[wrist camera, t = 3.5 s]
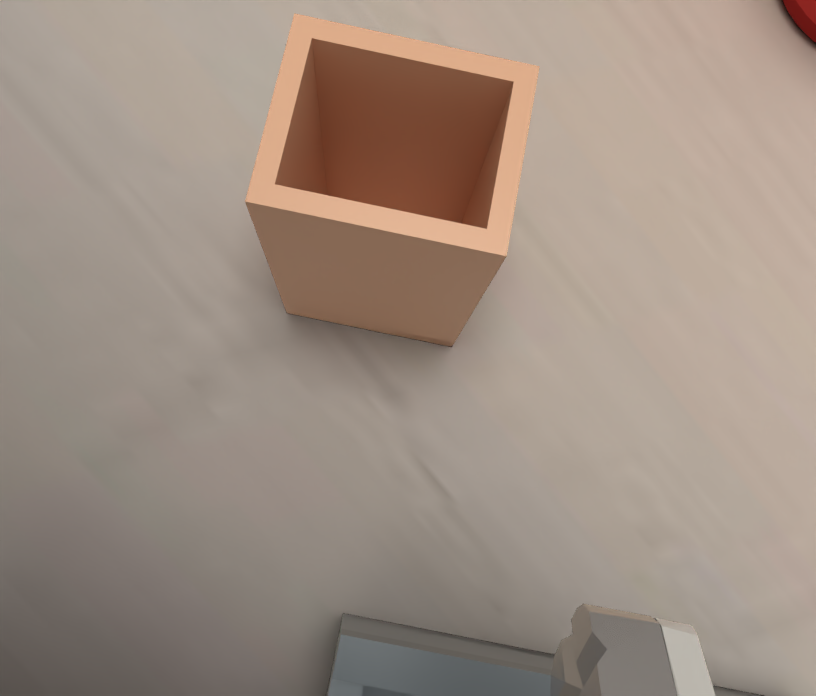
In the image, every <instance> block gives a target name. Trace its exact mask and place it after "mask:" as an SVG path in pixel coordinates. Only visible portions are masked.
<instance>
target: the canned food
mask: <svg viewBox="0 0 816 696" xmlns="http://www.w3.org/2000/svg"><path fill="white" fill-rule="evenodd" d="M783 2H784V5H785V7H786V9H787V11H788V12H789V14H790V15H791V17H792V18H793V20H794V21H795V22H796V24H797V25H798V27H799V28H800V29H801V30H802V31H803V32H804V33H805V34H806V35H807V36H808V37H809V38H810V39H811V40H813V41H814V42H816V0H783Z"/></svg>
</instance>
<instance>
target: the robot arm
mask: <svg viewBox="0 0 816 696" xmlns="http://www.w3.org/2000/svg"><path fill="white" fill-rule="evenodd" d="M571 623H572V632H573V634H572V635H570V636H568V637H566V638H564V639H562V640H561V642H560V644H559V646H558V649H557V651H556V653H555V656H554V661H553V666H552V671H551V685H550V694H551V696H716V695H715V692H714V689H713V685H712V682H711V678H710V675H709V672H708V668H707V665H706V661H705V658H704V655H703V651H702V648H701V645H700V641H699V638H698V634H697V632H696V631H695V629H694V628H693V627H692V625H689V624H684V623H679V622H674V621H669V620H664V619H659V618H652V617H651V616H647V615H641V614H636V613H631V612H625V611H620V610H614V609H609V608H604V607H598V606H593V605H588V604H582V605H581V606H579V607H578V608H577V609H576V611H575V613H574V615H573V617H572V619H571Z"/></svg>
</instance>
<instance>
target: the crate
mask: <svg viewBox="0 0 816 696" xmlns="http://www.w3.org/2000/svg"><path fill="white" fill-rule="evenodd" d="M554 656H555V655H554V654H549V653H544V652H539V651H533V650H528V649H523V648H518V647H513V646H508V645H503V644H498V643H493V642H488V641H482V640H477V639H472V638H467V637H462V636H457V635H452V634H447V633H442V632H437V631H431V630H426V629H421V628H416V627H411V626H406V625H401V624H396V623H391V622H386V621H380V620H375V619H370V618H365V617H360V616H355V615H350V614H345V613H343V616H342V621H341V626H340V631H339V636H338V641H337V646H336V651H335V655H334V660H333V665H332V670H331V675H330V680H329V685H328V690H327V695H326V696H551V694H550V685H551V671H552V666H553V661H554ZM713 689H714V692H715V695H716V696H763V695H758V694H753V693H748V692H743V691H738V690H732V689H727V688H722V687H717V686H713Z"/></svg>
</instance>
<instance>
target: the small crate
mask: <svg viewBox="0 0 816 696" xmlns="http://www.w3.org/2000/svg"><path fill="white" fill-rule="evenodd" d="M538 72H539V66H535V65H530V64H526V63H521V62H516V61H512V60H507V59H502V58H498V57H493V56H489V55H484V54H479V53H475V52H470V51H466V50H461V49H456V48H452V47H447V46H442V45H438V44H433V43H429V42H424V41H419V40H415V39H410V38H406V37H401V36H396V35H392V34H387V33H382V32H378V31H373V30H369V29H364V28H359V27H355V26H350V25H345V24H341V23H336V22H332V21H327V20H322V19H318V18H313V17H309V16H304V15H299V14H295V13H294V17H293V21H292V25H291V28H290V32H289V36H288V40H287V44H286V48H285V51H284V55H283V59H282V63H281V67H280V70H279V74H278V78H277V82H276V86H275V89H274V93H273V97H272V101H271V105H270V108H269V112H268V116H267V120H266V124H265V127H264V131H263V135H262V139H261V143H260V146H259V150H258V154H257V158H256V162H255V165H254V169H253V173H252V177H251V181H250V185H249V188H248V192H247V196H246V200H245V202H246V205H247V208H248V211H249V213H250V216H251V219H252V221H253V224H254V227H255V229H256V232H257V235H258V237H259V240H260V243H261V245H262V248H263V251H264V253H265V256H266V259H267V261H268V264H269V267H270V269H271V272H272V275H273V277H274V280H275V283H276V285H277V288H278V291H279V293H280V296H281V299H282V301H283V304H284V307H285V310H286V312H287V313H289V314H294V315H299V316H304V317H309V318H314V319H318V320H323V321H328V322H333V323H338V324H343V325H348V326H352V327H357V328H362V329H367V330H372V331H377V332H382V333H386V334H391V335H396V336H401V337H406V338H411V339H415V340H420V341H425V342H430V343H435V344H440V345H445V346H449V347H452V346H453V344H454V342H455V341H456V339H457V337H458V336H459V334H460V332H461V331H462V329H463V327H464V326H465V324H466V322H467V321H468V319H469V317H470V316H471V314H472V312H473V311H474V309H475V307H476V306H477V304H478V302H479V301H480V299H481V298H482V296H483V294H484V293H485V291H486V289H487V288H488V286H489V284H490V283H491V281H492V279H493V278H494V276H495V274H496V273H497V271H498V269H499V268H500V266H501V264H502V263H503V261H504V259H505V258H506V256H507V250H508V244H509V239H510V233H511V227H512V221H513V216H514V210H515V204H516V198H517V193H518V187H519V181H520V175H521V170H522V164H523V158H524V153H525V147H526V141H527V135H528V130H529V124H530V118H531V112H532V107H533V101H534V95H535V89H536V84H537V78H538Z"/></svg>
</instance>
